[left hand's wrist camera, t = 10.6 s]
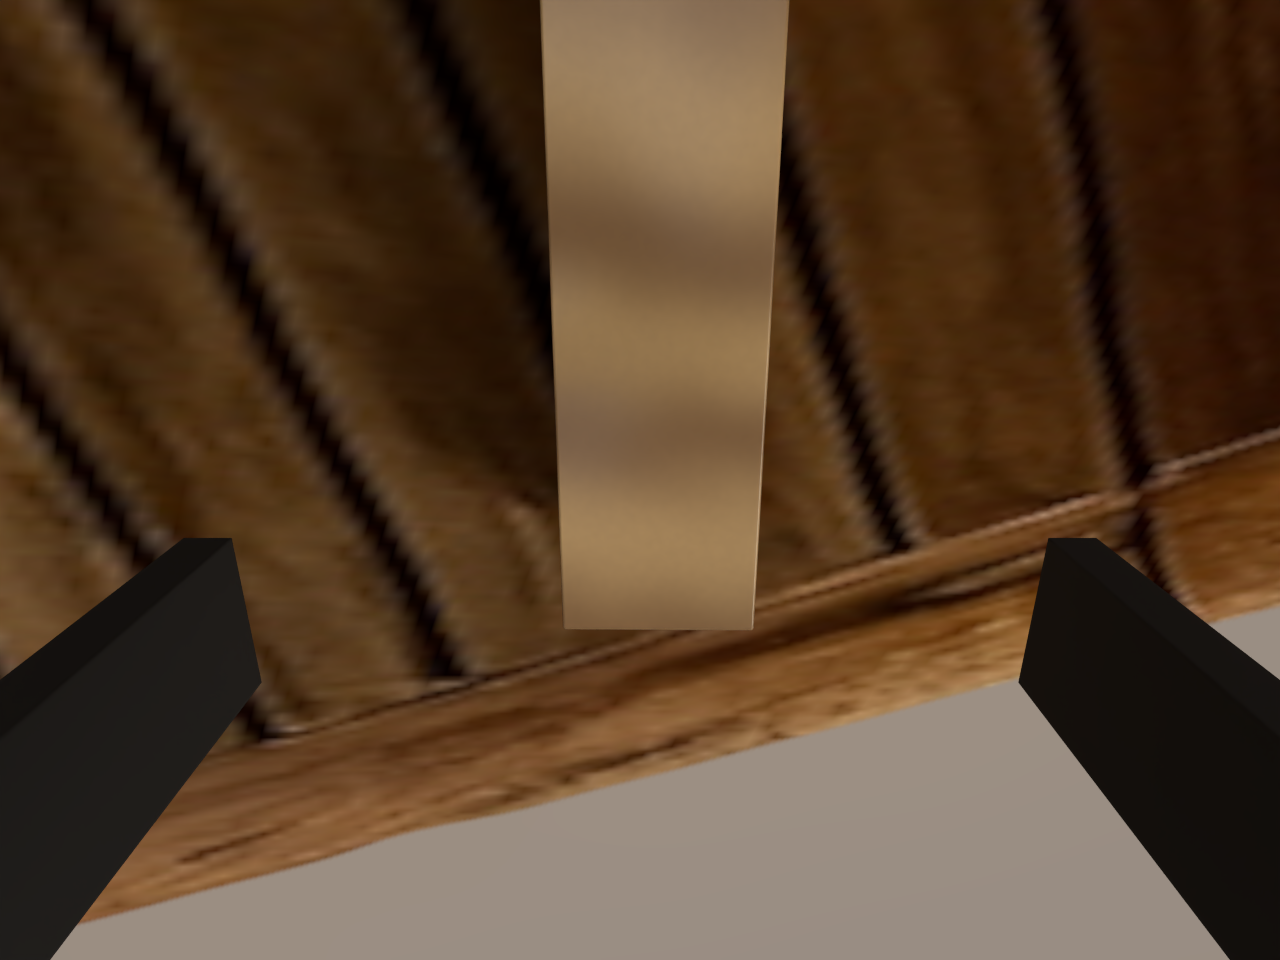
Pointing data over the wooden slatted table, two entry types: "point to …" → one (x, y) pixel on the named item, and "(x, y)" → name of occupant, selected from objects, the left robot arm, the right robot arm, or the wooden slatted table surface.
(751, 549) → the post
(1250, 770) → the left robot arm
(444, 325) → the wooden slatted table surface
